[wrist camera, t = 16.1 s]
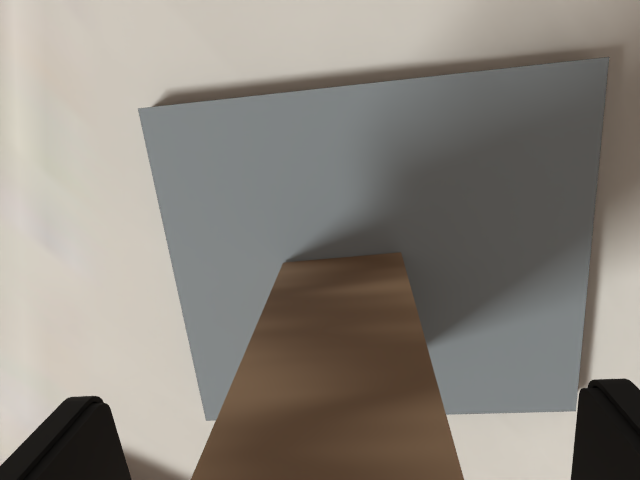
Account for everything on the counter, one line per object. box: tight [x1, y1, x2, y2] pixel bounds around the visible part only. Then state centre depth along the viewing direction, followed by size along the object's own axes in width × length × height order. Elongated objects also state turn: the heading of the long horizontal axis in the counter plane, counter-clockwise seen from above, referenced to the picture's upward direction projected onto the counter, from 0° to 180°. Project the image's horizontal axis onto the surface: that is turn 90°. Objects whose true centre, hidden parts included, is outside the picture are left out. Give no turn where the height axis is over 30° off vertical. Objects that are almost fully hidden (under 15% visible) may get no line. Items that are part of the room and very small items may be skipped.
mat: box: [138, 57, 609, 421], centre depth 15 cm, size 14×12×1 cm
